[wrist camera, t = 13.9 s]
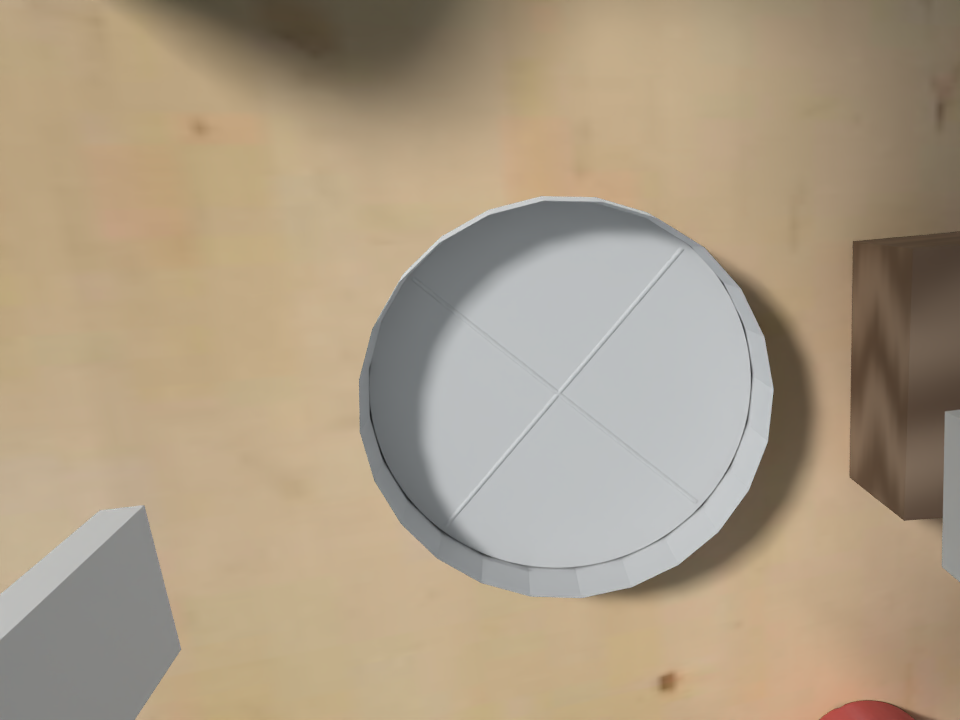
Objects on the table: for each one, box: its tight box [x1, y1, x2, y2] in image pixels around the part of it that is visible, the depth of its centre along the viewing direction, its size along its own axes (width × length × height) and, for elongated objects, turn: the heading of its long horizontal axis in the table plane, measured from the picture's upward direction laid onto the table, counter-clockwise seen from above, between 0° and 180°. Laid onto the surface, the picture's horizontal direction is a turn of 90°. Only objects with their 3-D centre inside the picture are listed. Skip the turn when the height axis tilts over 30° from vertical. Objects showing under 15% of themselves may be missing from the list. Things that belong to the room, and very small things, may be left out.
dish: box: [359, 196, 774, 598], centre depth 41 cm, size 22×22×5 cm
